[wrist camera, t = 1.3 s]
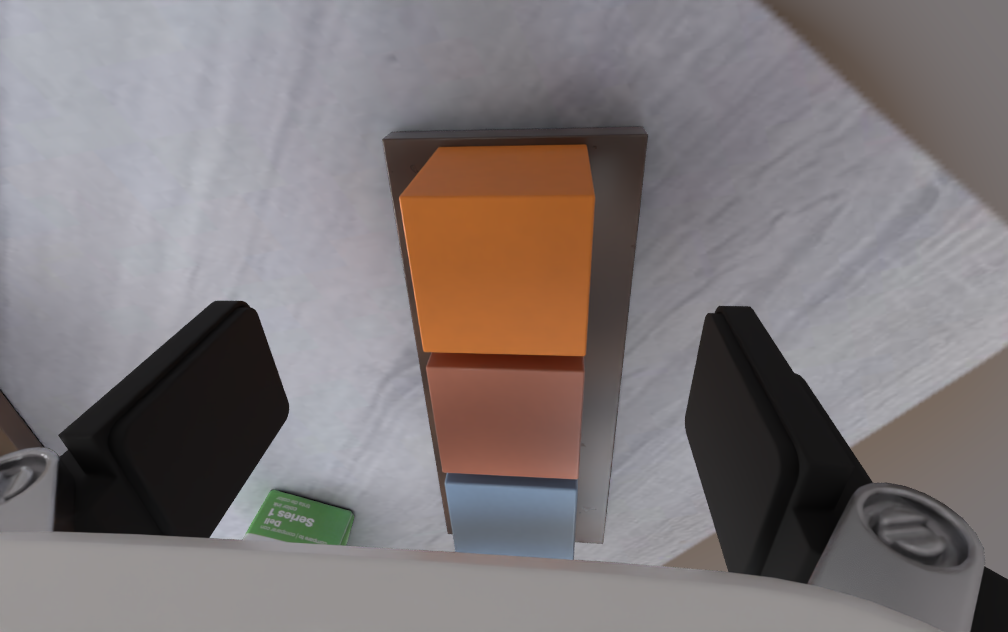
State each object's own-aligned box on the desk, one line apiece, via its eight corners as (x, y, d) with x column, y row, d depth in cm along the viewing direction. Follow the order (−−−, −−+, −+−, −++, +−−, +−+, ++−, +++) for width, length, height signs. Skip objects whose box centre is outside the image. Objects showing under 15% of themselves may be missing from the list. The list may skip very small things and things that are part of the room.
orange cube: (438, 146, 15) (397, 196, 12) (587, 143, 15) (595, 195, 11) (452, 276, 18) (423, 352, 14) (580, 277, 17) (585, 357, 14)
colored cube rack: (390, 131, 16) (322, 186, 12) (643, 126, 15) (678, 183, 11) (451, 517, 27) (428, 625, 22) (601, 526, 26) (610, 640, 22)
